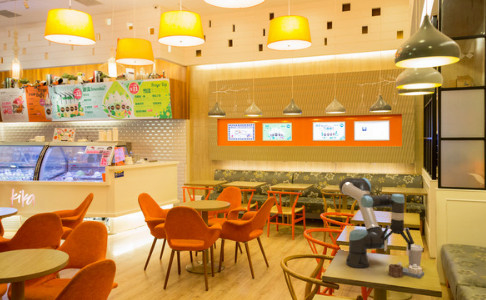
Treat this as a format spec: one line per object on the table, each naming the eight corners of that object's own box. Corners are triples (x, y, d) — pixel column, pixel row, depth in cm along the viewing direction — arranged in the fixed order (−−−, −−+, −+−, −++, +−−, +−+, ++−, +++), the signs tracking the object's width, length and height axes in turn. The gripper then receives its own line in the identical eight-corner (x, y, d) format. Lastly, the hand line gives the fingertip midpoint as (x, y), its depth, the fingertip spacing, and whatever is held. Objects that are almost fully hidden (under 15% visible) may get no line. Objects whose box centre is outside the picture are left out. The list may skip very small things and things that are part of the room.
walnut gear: (387, 275, 247) (387, 266, 247) (391, 272, 253) (392, 263, 253) (399, 278, 242) (400, 268, 242) (404, 275, 248) (404, 265, 248)
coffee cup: (423, 271, 257) (424, 248, 257) (408, 269, 259) (408, 247, 259) (420, 266, 267) (421, 244, 266) (405, 265, 269) (406, 243, 268)
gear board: (390, 271, 255) (390, 261, 254) (395, 268, 261) (395, 258, 261) (419, 278, 243) (419, 267, 243) (424, 275, 250) (424, 264, 249)
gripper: (375, 217, 252) (374, 249, 253) (416, 222, 236) (415, 258, 237) (380, 215, 258) (379, 247, 258) (420, 221, 242) (419, 255, 242)
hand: (396, 252), depth 248 cm, fingers open, 13 cm apart
